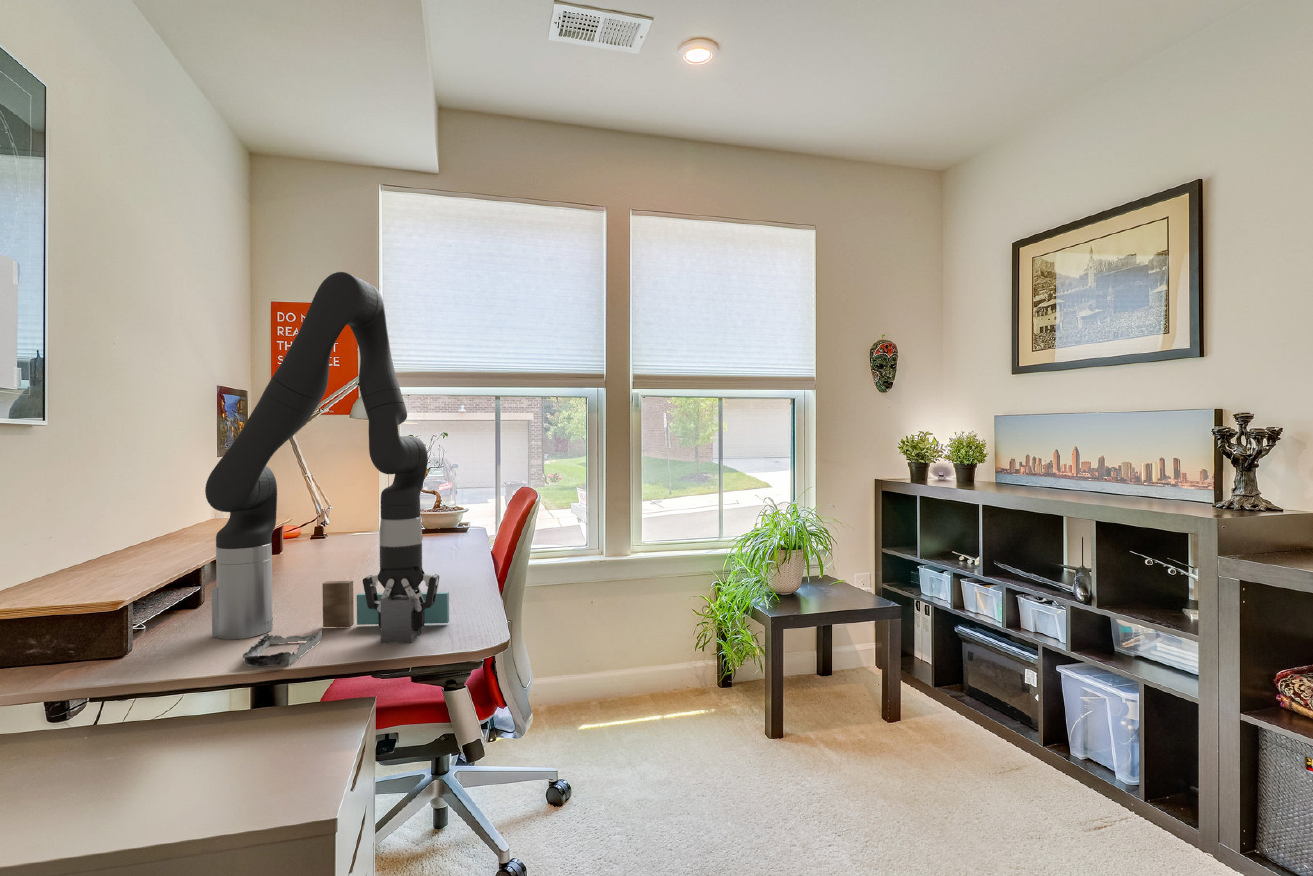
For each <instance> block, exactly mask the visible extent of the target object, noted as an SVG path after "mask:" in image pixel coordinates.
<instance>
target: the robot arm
mask: <svg viewBox="0 0 1313 876" xmlns="http://www.w3.org/2000/svg"><path fill="white" fill-rule="evenodd" d="M386 317H387V316H386V311H385V304H384V299H383V297H382V295H381V293H380V291H379V290H378V288H377V287H375V286H374V285H373V284H371V283H370V282H368V281H365V280H364V279H362V278H359V277H358V276H355V275H353V274H351V273H348V272H345V271H336V272H334V273H331V274H330V275H328V276H327V277H325V279H324V280H323V281H321V283H320V285H319V287H318V288H317V291H316V292H315V294H314V297H313V299H312V301H311V303H310V306H309V308H308V310H307V312H306V314H305V317H304V318H303V322H302V323H301V326H300V328H299V330H298V332H297V334H296V336H295V338H294V339H293V341H292V342H291V344H290V347H289V348H288V350H287V352H286V354H285V356H284V357H283V359H282V361H281V362H280V364H279V366H278V367H277V369H276V370H275V372H274V373H273V375H272V377H271V378H270V381H269V382H268V384H267V385H266V387H265V389H264V391H263V393H262V395H261V396H260V398H259V400H258V402H257V404H256V405H255V407H254V409H253V410H252V412H251V413H250V416H249V417H248V419H247V420H246V422H245V424H244V425H243V427H242V429H241V431H240V432H239V434H238V436H237V437H236V438H235V440H234V441H233V443H232V444H231V445H230V447H229V448H228V449H227V450H226V452H225V453H224V455H223V456H222V457H221V459H220V460H219V461H218V462H217V464H216V465H215V466H214V468H213V469H212V470H211V472H210V474H209V476H208V478H207V480H206V483H205V488H204V489H205V491H204V492H205V498H206V500H207V502H208V503H207V504H209V506H211V508H213V509H214V510H216V511H219V512H221V513H229V518H228V520H227V522H226V524H225V525H224V526H223V527H222V528H221V529H220V530H218V531H217V532H216V535H215V556H216V557H215V558H216V559H215V562H216V564H215V568H216V573H215V574H216V585H215V586H213V587H211V590H210V591H211V593H210V594H211V596H210V597H211V599H210V600H211V637H212V638H219V639H222V640H236V639H238V640H240V639H246V638H252V637H256V636H260V635H265V634H266V633H267V634H268V633H269V632H270V631H271V632H272V630H273V629H272V628H273V626H274V624H273V621H274V617H273V614H274V613H273V553H272V552H273V551H272V550H273V547H272V544H273V543H272V541H273V540H272V538H273V537H272V535H273V533H274V530H275V528H276V524H277V507H278V485H277V480H276V476H275V474H274V472H273V470H271V468H269V466H267V465H268V462H269V461H270V459H271V458H272V457H273V455H274V454H275V453H276V452H277V451H278V450H279V449H280V448H281V447H282V446H283V445H284V444H285V443H286V442H287V441H289V440H290V439H291V438H292V437H293V436H294V435H295V434H296V433H298V432H299V431H300V430H301V429H302V428H303V427H304V426H305V425H306V424H307V422H308V421H310V420H311V417H312V416H313V415H314V413H315V411H316V409H317V408H318V406H319V404H320V402H321V401H322V399H323V397H324V396H325V393H326V391H327V388H328V383H329V376H330V360H331V354H332V351H333V348H334V346H335V343H336V342H337V340H338V338H339V336H340V335H341V333H342V332H343V330H344V328H345V327H346V326H349V327H350V329H351V331H352V333H353V335H354V337H355V340H356V342H357V346H358V350H359V357H360V358H359V359H360V360H359V371H358V387H359V393H360V397H361V400H362V403H363V406H364V410H365V413H366V416H367V419H368V453H369V457H370V461H371V462H372V464H373V466H374V467H375V469H377V471H379V472H380V473H382V474H385V475H394V478H393V481H392V484H391V485H390V486H387V487H386V488H384V489H383V490H381V493H380V525H379V534H378V535H379V537H378V538H379V573H378V574H377V575H373V574H369V575H368V576H366V577H364V578H363V579H362V585H363V590H364V593H365V596H366V601H367V606H368V608H369V609H375V610H377V611H378V620H379V621H378V622H379V623H378V624H377V625H378V628H379V629H381V601H379V600H378V595H377V593H378V590H377V586H378V585H379V584H378V583H380V585H381V586H382V587H383V588H384V590H383V592H382V593H383V594H382V597H381V600H382V599H388V598H389V597H390V596H397V595H403V596H408V597H409V598H413V600H414V607H415V610H416V611H415V612H414V625H415V631H419V630H420V629H421V628H422V629H423V627H424V626H425V609H426V608H430V607H431V606H432V605H434V604H435V600H436V594H437V592H438V589H439V581H440V575H439V574H436V573H435V574H434V575H433V574H426V573H425V572H424V570H423V538H424V536H423V530H422V529H423V528H422V520H421V493H422V489H423V486H424V481H425V478H426V474H427V469H428V462H429V461H428V460H429V456H428V455H429V454H428V450H427V448H426V445H425V443H424V442H423V440H421V439H420V438H418V437H417V436H412V435H411V436H409V435H408V436H407V435H406V436H405V435H403V436H400V433H399V425H401V424H403V423H404V422H406V420H407V417H408V412H407V407H406V403H405V401H404V398H403V395H402V391H401V388H400V385H399V381H398V378H397V375H396V371H395V366H394V364H393V363H394V362H393V358H392V351H391V347H390V339H389V333H388V326H387V318H386ZM423 581H424V582H425V583H424V584H425V586H426V587H427V591H426V592H427V595H426V601H424V599H423V597H422V593H423V592H422V591H421V588H420V585H421V583H422V582H423Z"/></svg>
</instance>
